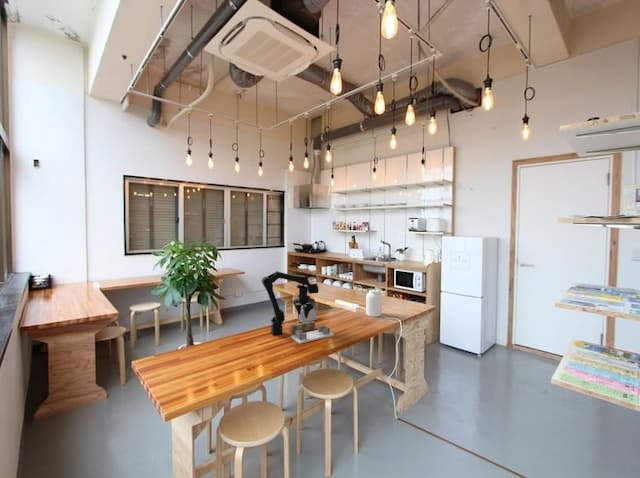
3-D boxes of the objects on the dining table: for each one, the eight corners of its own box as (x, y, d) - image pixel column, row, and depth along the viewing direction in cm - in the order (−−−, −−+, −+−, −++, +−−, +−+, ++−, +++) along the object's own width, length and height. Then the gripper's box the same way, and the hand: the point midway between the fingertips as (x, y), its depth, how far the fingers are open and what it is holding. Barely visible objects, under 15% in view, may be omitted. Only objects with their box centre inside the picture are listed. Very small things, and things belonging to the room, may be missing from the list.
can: (363, 313, 249) (363, 289, 248) (375, 311, 255) (376, 288, 254) (371, 317, 238) (372, 292, 237) (384, 315, 243) (385, 291, 242)
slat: (292, 333, 203) (292, 326, 203) (290, 332, 206) (290, 325, 205) (315, 329, 213) (315, 322, 212) (312, 327, 215) (312, 320, 215)
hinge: (301, 323, 223) (299, 310, 225) (298, 324, 227) (295, 310, 229) (318, 318, 235) (315, 305, 237) (314, 319, 238) (311, 306, 240)
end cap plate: (299, 343, 186) (299, 336, 186) (290, 337, 196) (290, 330, 196) (334, 335, 200) (334, 328, 200) (324, 329, 210) (324, 323, 210)
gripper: (320, 295, 205) (319, 318, 205) (306, 290, 220) (305, 311, 221) (306, 297, 199) (305, 320, 199) (292, 291, 214) (292, 313, 215)
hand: (302, 316), depth 209 cm, fingers open, 9 cm apart
